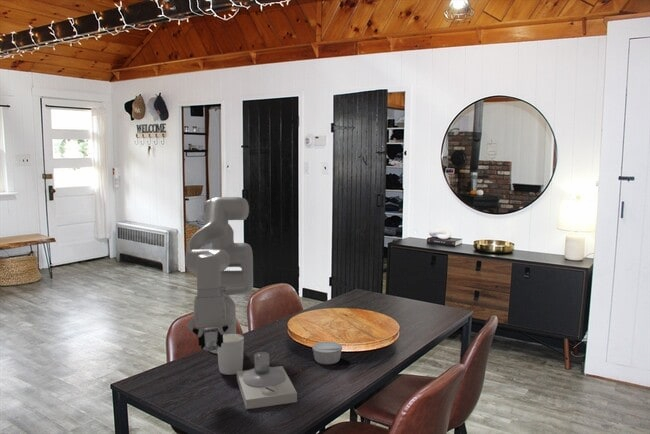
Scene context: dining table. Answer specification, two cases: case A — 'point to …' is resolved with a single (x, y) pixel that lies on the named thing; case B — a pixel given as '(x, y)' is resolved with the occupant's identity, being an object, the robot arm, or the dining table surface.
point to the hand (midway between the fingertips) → (210, 345)
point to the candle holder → (231, 354)
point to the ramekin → (327, 352)
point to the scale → (266, 388)
